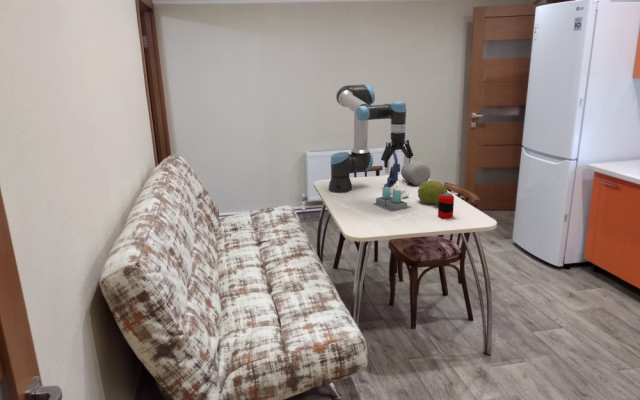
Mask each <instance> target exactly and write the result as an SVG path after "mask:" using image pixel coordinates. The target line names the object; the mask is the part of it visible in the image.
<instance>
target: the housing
mask: <svg viewBox="0 0 640 400" xmlns="http://www.w3.org/2000/svg"><path fill="white" fill-rule="evenodd" d="M372 205H373V206H376V207H378V208H381V209H383V210H386V211H389V212H392V213H394V212H397V211H401V210H402V211H403V210H406V209H410V208H411V209H412V206H410V205H408V202H406V201H404V200H401V203H400V204H393V198H392V197H390V200H386V201H385V200H382V196H380V197H376V198H375V202H374V203H372Z"/></svg>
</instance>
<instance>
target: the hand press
mask: <svg viewBox="0 0 640 400" xmlns="http://www.w3.org/2000/svg"><path fill="white" fill-rule="evenodd" d="M390 148H391V147H390ZM392 156H393V160H394V163H393V164H392V166H390V169H389V174H388V177H387V179H386V181H387V182H386V183H385V184H383V187H389V188H390V187H392V186H393V185H394V184H395V183H397V182H398V181H399V173H401V163H399V161H398V155H397V152H396V151H394V153H393V154H392Z"/></svg>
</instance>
